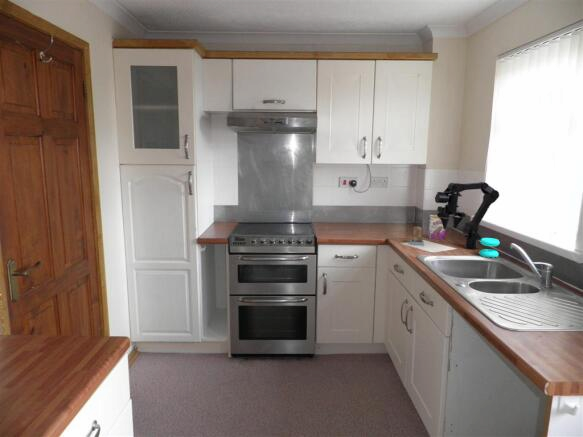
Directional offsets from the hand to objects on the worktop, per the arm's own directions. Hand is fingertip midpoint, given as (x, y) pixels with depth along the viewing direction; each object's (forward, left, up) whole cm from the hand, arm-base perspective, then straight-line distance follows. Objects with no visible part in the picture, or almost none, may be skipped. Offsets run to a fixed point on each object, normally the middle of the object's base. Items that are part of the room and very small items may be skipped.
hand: (449, 228), depth 245 cm
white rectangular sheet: (+9, -8, -13) cm, 18 cm away
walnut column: (+12, -15, -12) cm, 22 cm away
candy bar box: (-16, -25, -13) cm, 32 cm away
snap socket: (+12, -15, -12) cm, 22 cm away
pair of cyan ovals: (-6, +23, -13) cm, 28 cm away
